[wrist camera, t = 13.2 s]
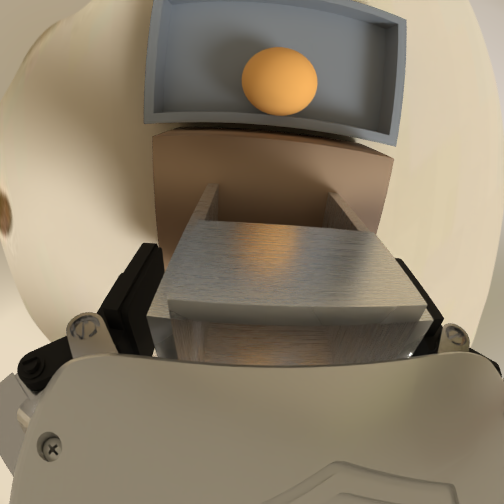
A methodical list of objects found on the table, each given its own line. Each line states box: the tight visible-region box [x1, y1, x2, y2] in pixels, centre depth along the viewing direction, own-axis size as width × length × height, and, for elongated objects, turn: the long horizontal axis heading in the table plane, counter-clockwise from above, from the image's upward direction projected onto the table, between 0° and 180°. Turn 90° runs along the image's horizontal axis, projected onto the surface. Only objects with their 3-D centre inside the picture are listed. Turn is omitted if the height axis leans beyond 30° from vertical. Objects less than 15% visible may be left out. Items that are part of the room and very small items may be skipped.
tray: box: [144, 0, 406, 147], centre depth 12 cm, size 9×15×2 cm, turn 86°
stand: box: [153, 127, 394, 271], centre depth 16 cm, size 10×12×5 cm
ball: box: [242, 47, 318, 116], centre depth 12 cm, size 4×4×4 cm
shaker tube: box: [147, 183, 433, 365], centre depth 10 cm, size 6×6×9 cm
